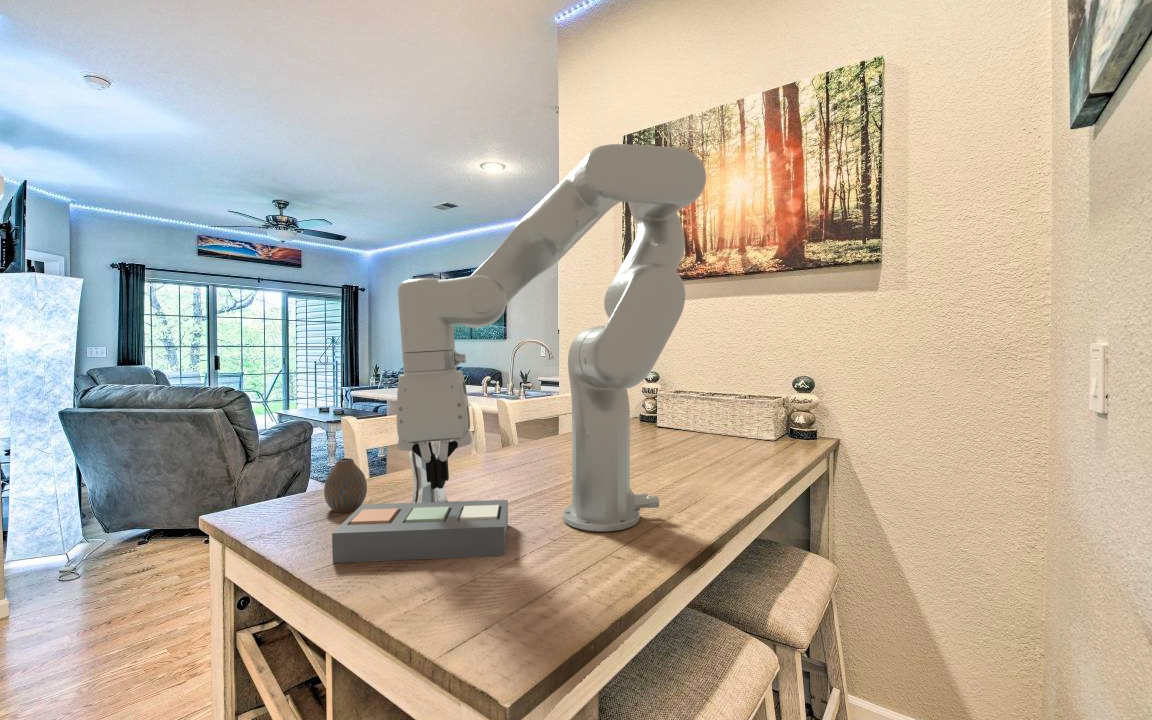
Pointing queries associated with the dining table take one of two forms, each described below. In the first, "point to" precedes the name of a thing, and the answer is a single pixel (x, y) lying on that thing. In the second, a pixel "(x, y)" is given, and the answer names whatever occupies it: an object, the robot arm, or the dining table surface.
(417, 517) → the sage button
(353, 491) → the vase
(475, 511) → the cream button
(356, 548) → the button panel
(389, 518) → the terracotta button
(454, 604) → the dining table surface
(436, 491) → the beer glass
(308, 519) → the dining table surface
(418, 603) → the dining table surface
